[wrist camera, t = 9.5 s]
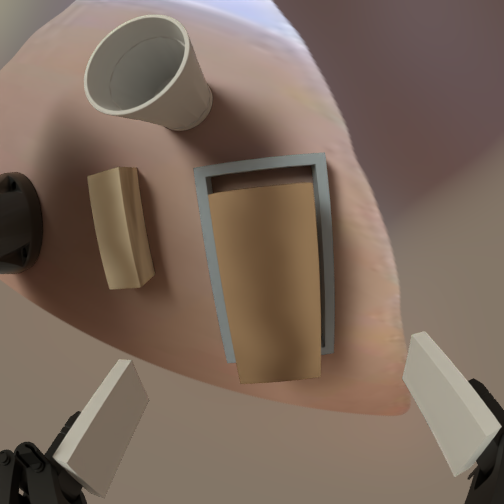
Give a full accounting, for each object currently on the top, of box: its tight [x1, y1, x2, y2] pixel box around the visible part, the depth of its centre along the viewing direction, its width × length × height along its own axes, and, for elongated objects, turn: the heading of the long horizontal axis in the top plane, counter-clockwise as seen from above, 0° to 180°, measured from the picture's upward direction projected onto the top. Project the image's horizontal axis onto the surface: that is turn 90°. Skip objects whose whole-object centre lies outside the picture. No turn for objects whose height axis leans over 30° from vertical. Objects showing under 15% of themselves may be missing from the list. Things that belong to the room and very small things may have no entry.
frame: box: [193, 153, 335, 363], centre depth 26 cm, size 12×21×5 cm, turn 7°
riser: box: [87, 167, 155, 290], centre depth 26 cm, size 4×12×4 cm, turn 7°
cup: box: [84, 15, 213, 131], centre depth 19 cm, size 8×8×12 cm
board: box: [208, 182, 321, 384], centre depth 22 cm, size 7×16×4 cm, turn 7°
